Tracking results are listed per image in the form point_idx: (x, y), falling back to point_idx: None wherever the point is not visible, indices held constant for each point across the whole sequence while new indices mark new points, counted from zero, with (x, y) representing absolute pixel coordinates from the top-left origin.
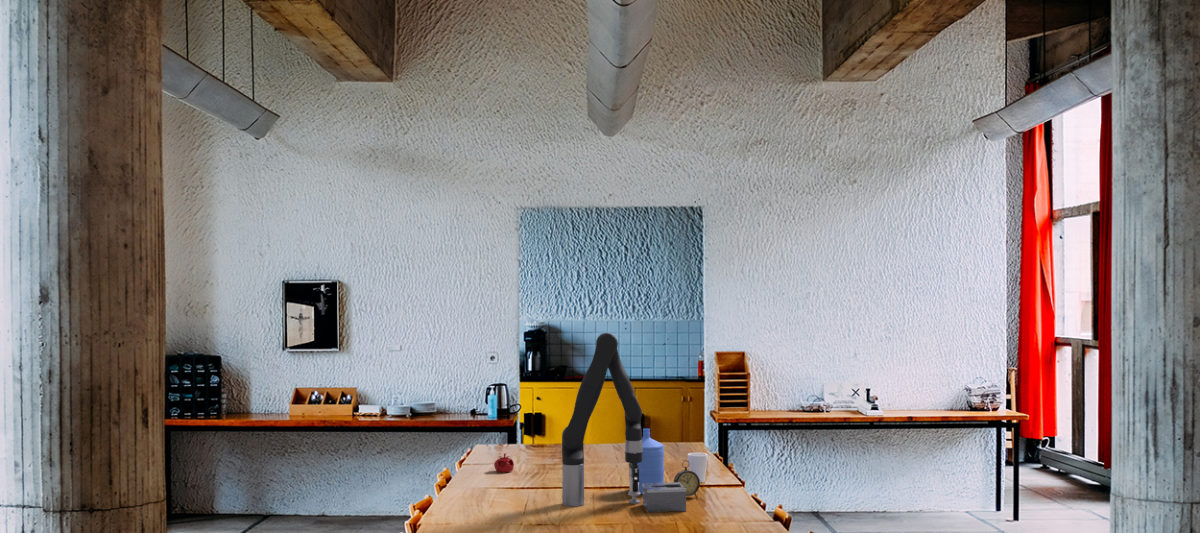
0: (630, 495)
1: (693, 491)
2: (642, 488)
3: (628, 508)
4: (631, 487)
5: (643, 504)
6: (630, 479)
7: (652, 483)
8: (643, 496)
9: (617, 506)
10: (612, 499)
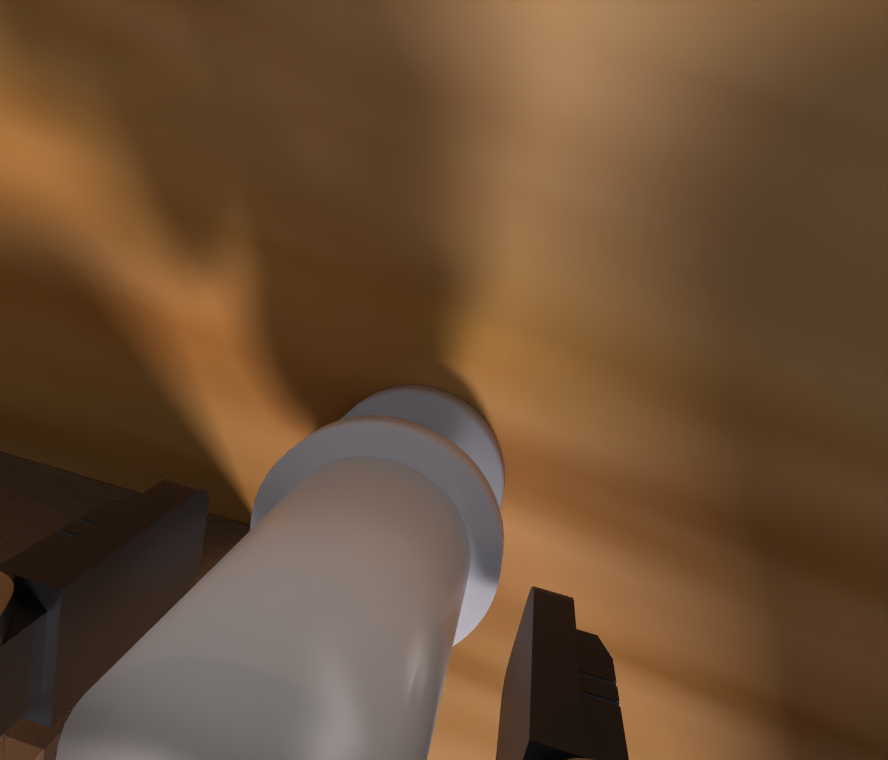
0: (317, 429)
1: None
2: None
3: (101, 248)
4: (259, 526)
5: None
6: (161, 648)
7: None
8: None
9: (272, 121)
10: (844, 221)
